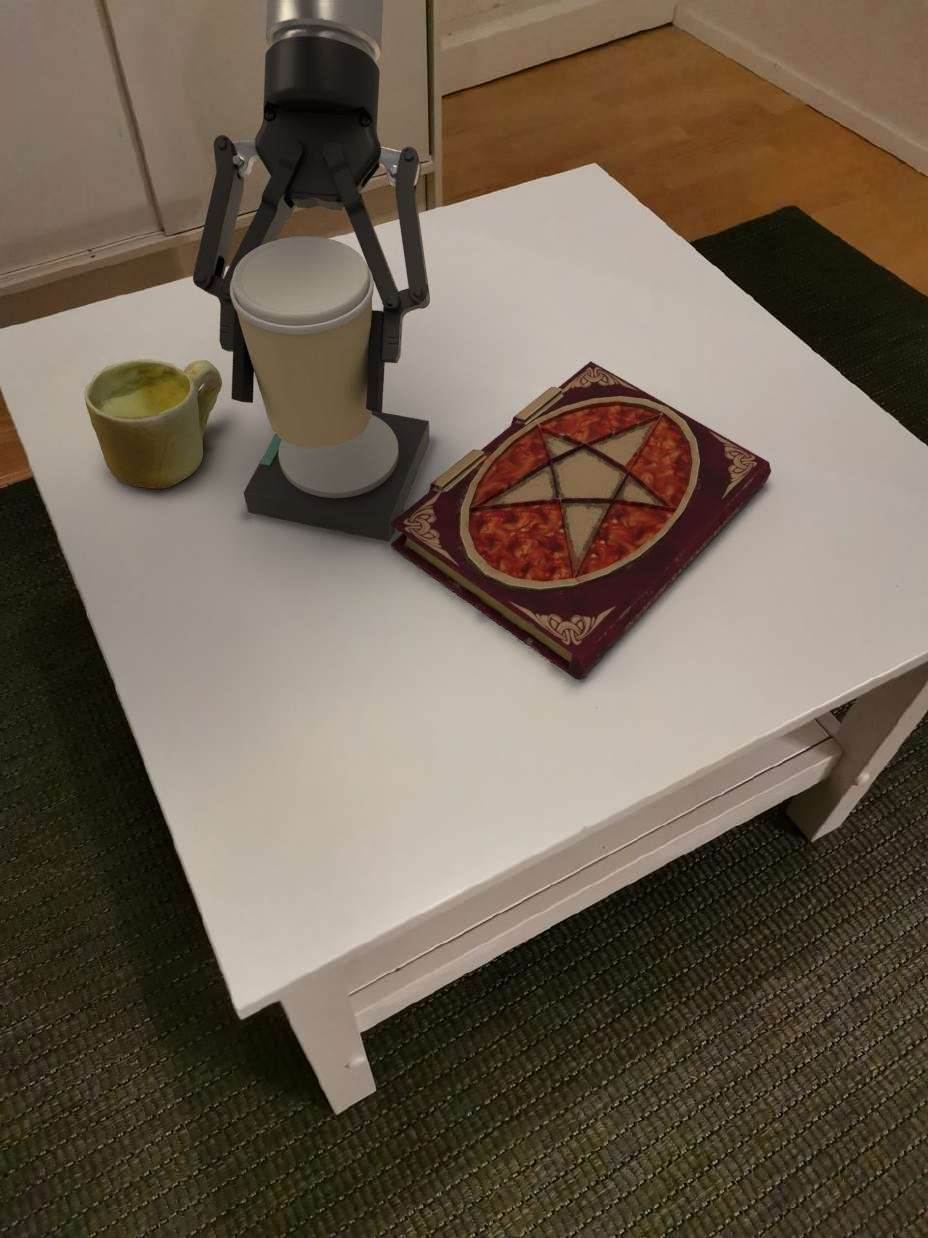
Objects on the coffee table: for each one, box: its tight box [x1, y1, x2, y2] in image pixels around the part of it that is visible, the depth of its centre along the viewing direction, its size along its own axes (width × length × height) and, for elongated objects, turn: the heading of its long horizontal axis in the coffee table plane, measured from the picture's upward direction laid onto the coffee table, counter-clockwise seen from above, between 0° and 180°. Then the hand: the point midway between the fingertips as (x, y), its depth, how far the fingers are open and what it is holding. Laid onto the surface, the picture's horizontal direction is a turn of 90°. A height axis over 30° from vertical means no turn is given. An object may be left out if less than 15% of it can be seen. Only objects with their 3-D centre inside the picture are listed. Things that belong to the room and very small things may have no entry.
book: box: [390, 360, 772, 679], centre depth 80 cm, size 28×21×5 cm
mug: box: [83, 358, 223, 490], centre depth 82 cm, size 12×10×10 cm
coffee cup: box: [230, 235, 375, 450], centre depth 64 cm, size 9×9×12 cm
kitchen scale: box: [243, 411, 430, 542], centre depth 82 cm, size 13×13×3 cm
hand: (308, 405), depth 64 cm, fingers closed on coffee cup, 9 cm apart
